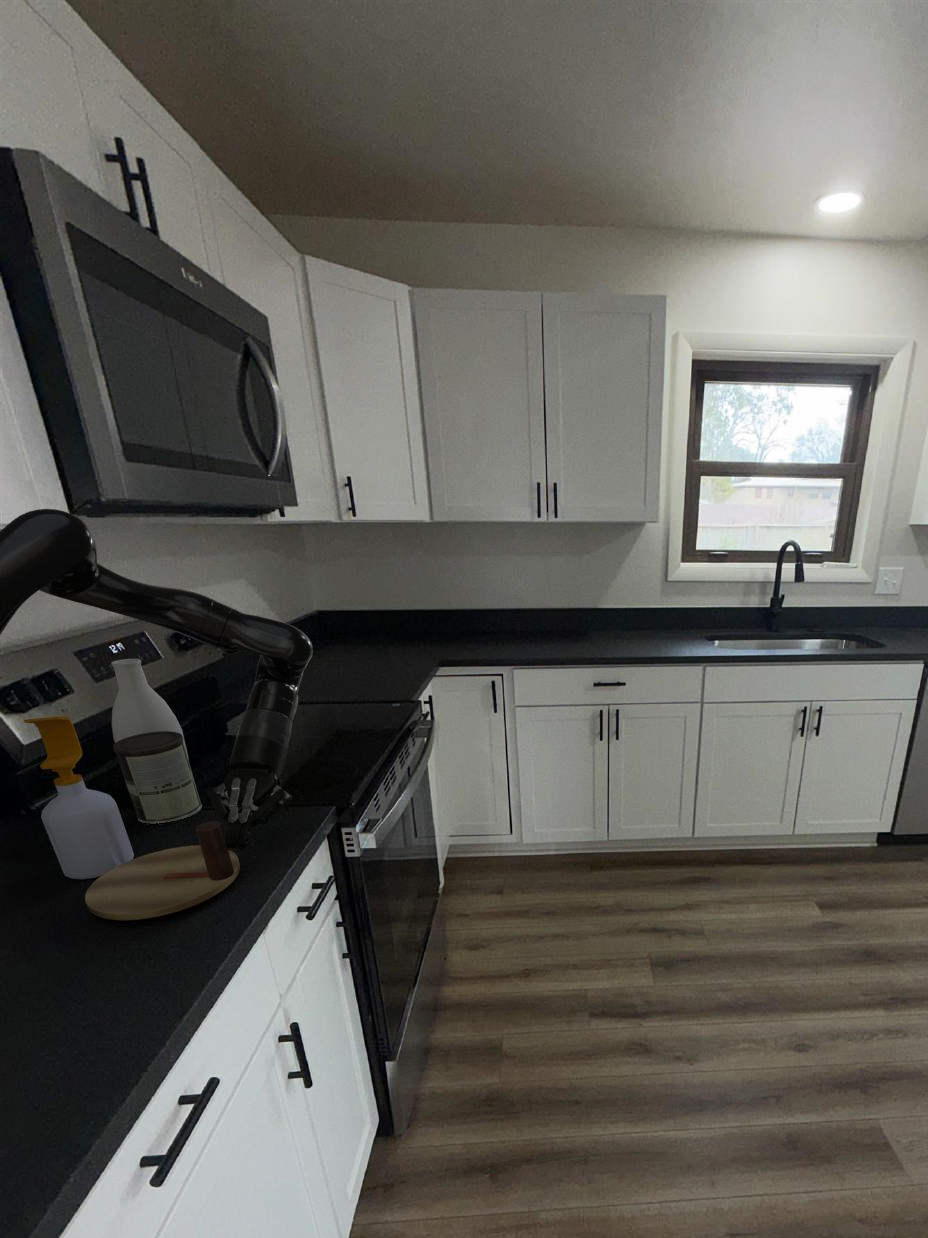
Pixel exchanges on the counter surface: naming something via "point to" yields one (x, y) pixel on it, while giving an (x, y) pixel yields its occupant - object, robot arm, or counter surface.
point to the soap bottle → (79, 809)
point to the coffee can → (158, 776)
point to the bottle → (139, 704)
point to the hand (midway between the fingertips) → (235, 849)
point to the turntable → (166, 879)
